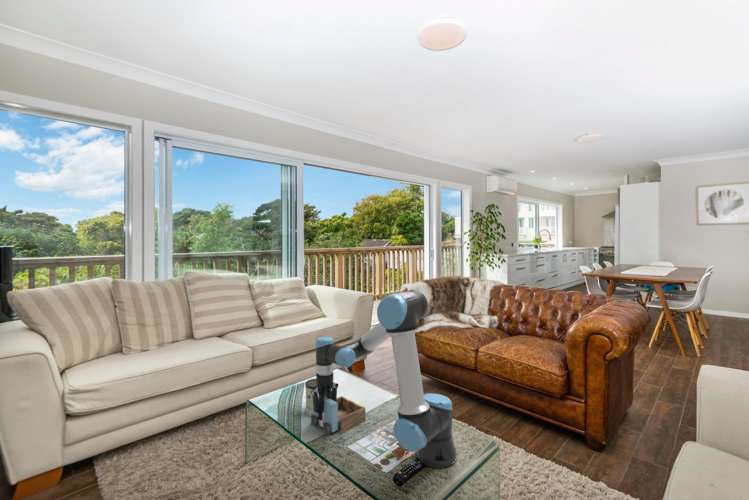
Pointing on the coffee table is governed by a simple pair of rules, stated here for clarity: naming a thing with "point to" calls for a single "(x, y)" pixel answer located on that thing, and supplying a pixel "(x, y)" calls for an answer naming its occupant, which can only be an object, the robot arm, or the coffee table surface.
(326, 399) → the door
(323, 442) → the coffee table surface
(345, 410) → the cabinet
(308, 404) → the coffee can
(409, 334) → the robot arm
